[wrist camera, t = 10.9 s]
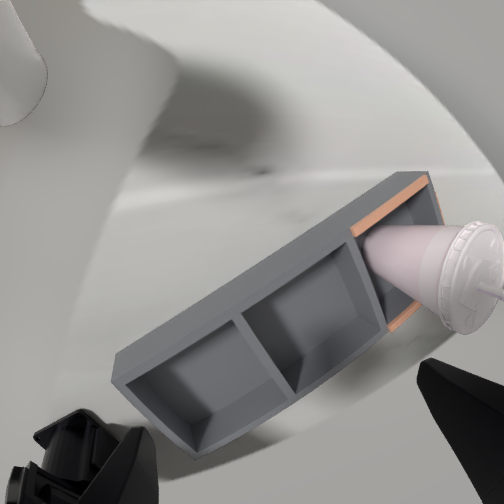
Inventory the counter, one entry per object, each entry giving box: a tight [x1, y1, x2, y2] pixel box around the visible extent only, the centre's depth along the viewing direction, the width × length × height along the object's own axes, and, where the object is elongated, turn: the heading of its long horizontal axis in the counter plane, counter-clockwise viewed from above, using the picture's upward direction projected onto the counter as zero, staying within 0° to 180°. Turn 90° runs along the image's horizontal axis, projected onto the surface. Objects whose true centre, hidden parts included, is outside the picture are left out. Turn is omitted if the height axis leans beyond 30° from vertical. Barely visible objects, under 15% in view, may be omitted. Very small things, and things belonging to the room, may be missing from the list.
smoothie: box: [362, 221, 504, 335], centre depth 16 cm, size 6×6×14 cm
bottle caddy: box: [111, 171, 445, 460], centre depth 20 cm, size 25×9×4 cm, turn 120°
